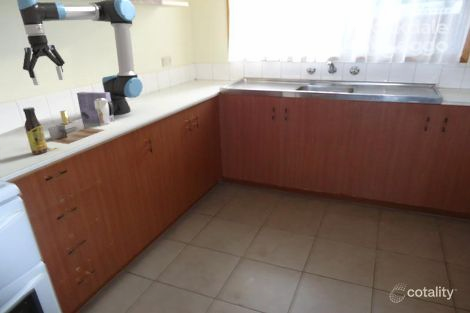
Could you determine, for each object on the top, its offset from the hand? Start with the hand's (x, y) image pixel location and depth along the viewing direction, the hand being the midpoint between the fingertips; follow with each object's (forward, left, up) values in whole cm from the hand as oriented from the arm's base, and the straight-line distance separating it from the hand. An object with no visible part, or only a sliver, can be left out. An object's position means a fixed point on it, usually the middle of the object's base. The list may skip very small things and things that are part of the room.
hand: (49, 82), depth 154 cm
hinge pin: (+2, +6, -25) cm, 26 cm away
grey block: (-1, +6, -25) cm, 26 cm away
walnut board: (+1, +10, -27) cm, 29 cm away
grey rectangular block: (+5, +6, -25) cm, 26 cm away
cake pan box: (-23, 0, -27) cm, 36 cm away
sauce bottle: (+21, +11, -27) cm, 36 cm away
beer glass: (-19, +9, -27) cm, 35 cm away
